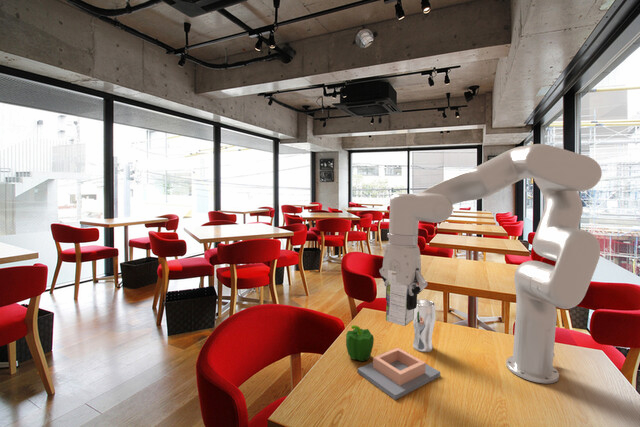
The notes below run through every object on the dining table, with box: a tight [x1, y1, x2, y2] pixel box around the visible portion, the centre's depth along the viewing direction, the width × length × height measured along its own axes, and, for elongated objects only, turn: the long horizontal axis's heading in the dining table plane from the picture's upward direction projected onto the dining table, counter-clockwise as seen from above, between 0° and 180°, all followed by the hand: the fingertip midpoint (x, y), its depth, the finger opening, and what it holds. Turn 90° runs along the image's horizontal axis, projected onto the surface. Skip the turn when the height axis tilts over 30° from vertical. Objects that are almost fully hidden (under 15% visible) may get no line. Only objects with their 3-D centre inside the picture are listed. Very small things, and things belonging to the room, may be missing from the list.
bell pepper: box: [345, 324, 375, 362], centre depth 100 cm, size 8×8×10 cm
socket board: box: [357, 347, 441, 401], centre depth 91 cm, size 18×14×4 cm
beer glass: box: [412, 298, 436, 353], centre depth 106 cm, size 7×7×15 cm
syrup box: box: [385, 270, 414, 327], centre depth 89 cm, size 6×6×14 cm
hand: (400, 303), depth 89 cm, fingers closed on syrup box, 6 cm apart
